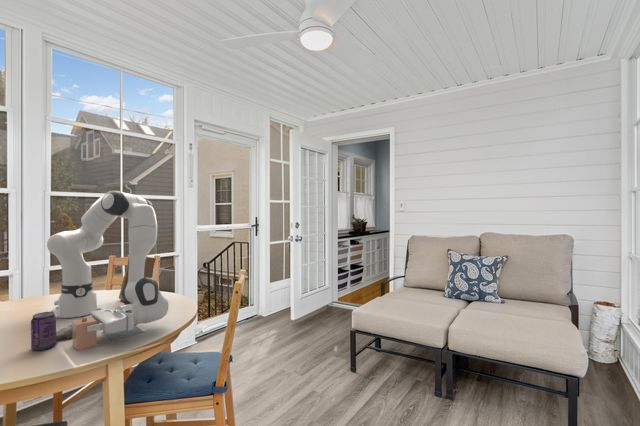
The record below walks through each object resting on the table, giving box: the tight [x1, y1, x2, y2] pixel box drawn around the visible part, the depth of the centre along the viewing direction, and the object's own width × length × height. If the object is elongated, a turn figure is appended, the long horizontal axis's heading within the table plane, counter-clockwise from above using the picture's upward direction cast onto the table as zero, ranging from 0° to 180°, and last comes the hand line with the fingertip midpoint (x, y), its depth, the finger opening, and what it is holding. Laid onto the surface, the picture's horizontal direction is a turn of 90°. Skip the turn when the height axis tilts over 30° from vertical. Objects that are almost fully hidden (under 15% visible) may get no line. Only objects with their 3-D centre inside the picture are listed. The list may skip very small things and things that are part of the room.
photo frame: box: [118, 255, 157, 302], centre depth 182 cm, size 15×22×25 cm
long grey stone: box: [56, 324, 72, 342], centre depth 144 cm, size 35×5×10 cm
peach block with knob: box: [71, 316, 98, 351], centre depth 124 cm, size 6×6×11 cm
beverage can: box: [30, 311, 57, 351], centre depth 124 cm, size 7×7×12 cm
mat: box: [101, 325, 145, 342], centre depth 138 cm, size 12×12×1 cm
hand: (82, 325), depth 124 cm, fingers open, 8 cm apart
